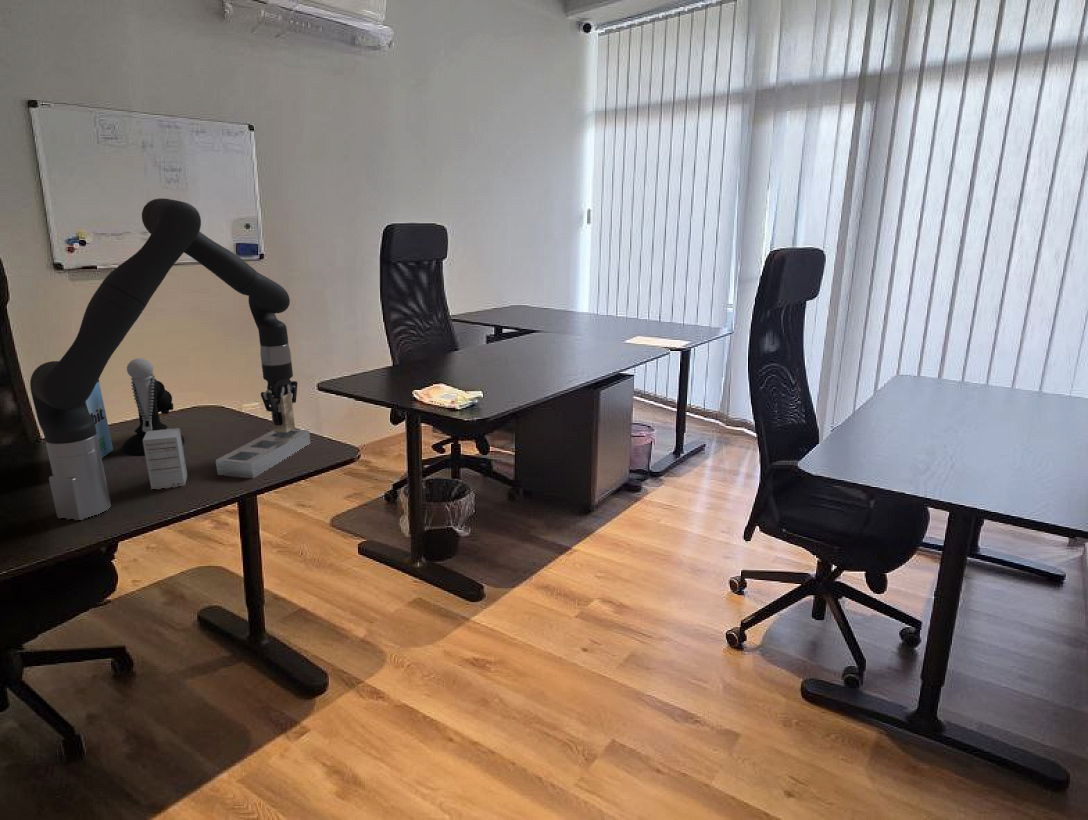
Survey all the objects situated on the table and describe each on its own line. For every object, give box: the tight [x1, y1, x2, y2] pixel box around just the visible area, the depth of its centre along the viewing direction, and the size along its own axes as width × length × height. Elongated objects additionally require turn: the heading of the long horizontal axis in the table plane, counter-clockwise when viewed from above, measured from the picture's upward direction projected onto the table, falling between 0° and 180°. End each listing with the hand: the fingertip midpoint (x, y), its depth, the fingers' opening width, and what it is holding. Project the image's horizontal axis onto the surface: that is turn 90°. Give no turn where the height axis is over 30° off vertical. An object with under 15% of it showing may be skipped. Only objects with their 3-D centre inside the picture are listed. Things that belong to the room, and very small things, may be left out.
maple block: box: [270, 393, 296, 433], centre depth 191 cm, size 4×4×10 cm
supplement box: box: [143, 427, 188, 491], centre depth 168 cm, size 7×7×13 cm
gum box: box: [86, 378, 114, 459], centre depth 180 cm, size 20×5×23 cm, turn 8°
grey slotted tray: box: [215, 428, 311, 479], centre depth 185 cm, size 26×10×4 cm, turn 167°
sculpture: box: [121, 358, 185, 456], centre depth 196 cm, size 15×24×25 cm, turn 15°
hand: (283, 422), depth 192 cm, fingers closed on maple block, 4 cm apart
